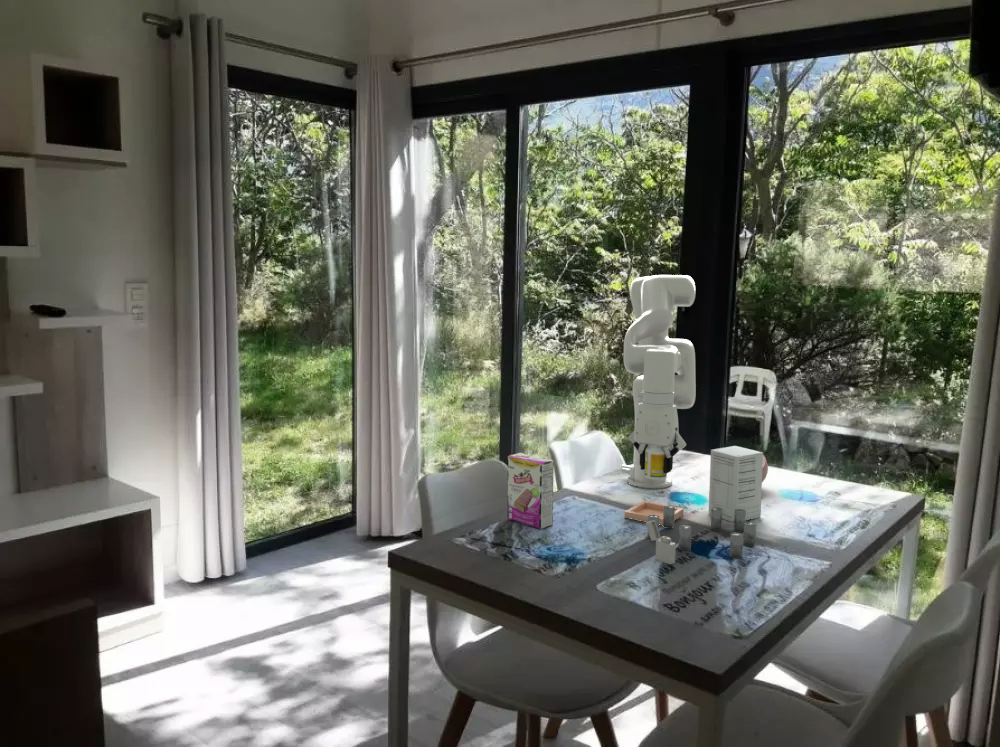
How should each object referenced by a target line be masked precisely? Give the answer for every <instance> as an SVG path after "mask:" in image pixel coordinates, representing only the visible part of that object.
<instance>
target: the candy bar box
mask: <svg viewBox="0 0 1000 747" xmlns="http://www.w3.org/2000/svg"><path fill="white" fill-rule="evenodd" d="M554 462H555V461H554V460H552V459H547V458H544V457H539V456H536V455H531V454H527V453H523V452H518V453H513V454H510V455H508V456H507V509H506V510H507V514H506V516H507V520H509V521H512V522H516V523H519V524H522V525H526V526H529V527H532V528H535V529H538V530H543V529H546V528H549V527H552V526H554V524H553V522H554V521H553V520H554V475H555V474H554V473H555V472H554V466H555V465H554Z"/></svg>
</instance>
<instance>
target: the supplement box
mask: <svg viewBox="0 0 1000 747" xmlns="http://www.w3.org/2000/svg"><path fill="white" fill-rule="evenodd" d="M763 455H764V452H763V451H759V450H755V451H754V449H749V448H746V447H742V446H737V445H731V446H726V447H720V448H719V447H718V448H715V449H714V448H713V449H710V463H709V464H710V465H709V466H710V467H709V468H710V469H709V495H708V497H709V498H708V514H709V515H711V508H721V509H722V520H726V521H729V522H732V523H734V511H735V510H736V509H742V510H745V511H746V519H745V522H747V521H750V519H751V520H754V519H759V518H761V514H762V513H761V512H762V510H761V509H762V490H763V489H762V486H763V482H762V467H763Z"/></svg>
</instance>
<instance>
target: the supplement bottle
mask: <svg viewBox="0 0 1000 747" xmlns="http://www.w3.org/2000/svg"><path fill="white" fill-rule="evenodd" d="M649 446H650V447H648V448H646V451H645V477H646V478H648V479H652V480H663V479H665V478H666V474H665V473H664V472H663V468H664V458H665V457H666V454H665V450H664V447H663V446H655V445H649Z"/></svg>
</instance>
